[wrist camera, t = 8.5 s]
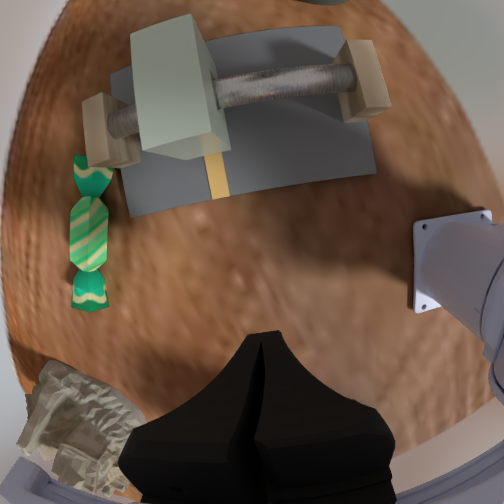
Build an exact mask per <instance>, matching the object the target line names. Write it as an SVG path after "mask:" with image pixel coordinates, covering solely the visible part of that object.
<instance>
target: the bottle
mask: <svg viewBox="0 0 504 504" xmlns="http://www.w3.org/2000/svg"><path fill="white" fill-rule="evenodd" d="M300 1H304V2H308V3H312V4H320V5H333V4H340V3H343V2H345V1H347V0H300Z"/></svg>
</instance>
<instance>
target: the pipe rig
mask: <svg viewBox="0 0 504 504" xmlns="http://www.w3.org/2000/svg"><path fill="white" fill-rule="evenodd" d="M205 44H206V46H207V48H208V50H209V52H210V55H211V57H212V59H213V61H214V63H215V67H216V72H217V77H218V79H217V80H213V81H212V85H213V90H214V96H215V101H216V107H217V110H219V109H224V114H225V119H226V125H227V130H228V135H229V140H230V145H231V150H229V151H224V152H219V153H215V154H210V155H206V156H201V157H197V158H193V159H189V160H182V159H178V158H174V157H169V156H165V155H161V154H156V153H151V152H147V151H142V145H141V138H140V132H139V125H138V117H137V109H136V101H135V92H134V82H133V71H132V65H130V66H128V67H125V68H123V69H121V70H118V71H116V72H114V73H111V74H110V85H111V96H110V95H108V94H106V93H104V92H101V93H99V94H97V95H94V96H92V97H90V98H88V99H86V100H84V101H82V114H83V127H84V137H85V145H86V153H87V161H88V167H108V168H121V174H122V179H123V185H124V190H125V195H126V200H127V205H128V210H129V214H130V218H134V217H138V216H142V215H146V214H150V213H154V212H158V211H163V210H167V209H171V208H176V207H180V206H184V205H189V204H194V203H198V202H203V201H208V200H213V199H218V198H223V197H228V196H233V195H238V194H243V193H248V192H254V191H259V190H265V189H271V188H277V187H283V186H289V185H295V184H302V183H308V182H315V181H322V180H329V179H336V178H344V177H352V176H360V175H369V174H377V171H376V164H375V158H374V153H373V147H372V142H371V137H370V132H369V127H368V122H367V120H368V119H370V118H372V117H374V116H376V115H378V114H380V113H381V112H383V111H385V110H387V109H389V108H391V107H392V106H391V102H390V98H389V95H388V91H387V87H386V84H385V80H384V77H383V73H382V70H381V67H380V64H379V61H378V58H377V55H376V52H375V49H374V46H373V43H372V41H371V40H348V39H346V41H345V40H344V37H343V35H342V32H341V29H340V26H308V27H292V28H281V29H272V30H264V31H256V32H250V33H244V34H238V35H233V36H228V37H223V38H218V39H213V40H209V41H205Z"/></svg>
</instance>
